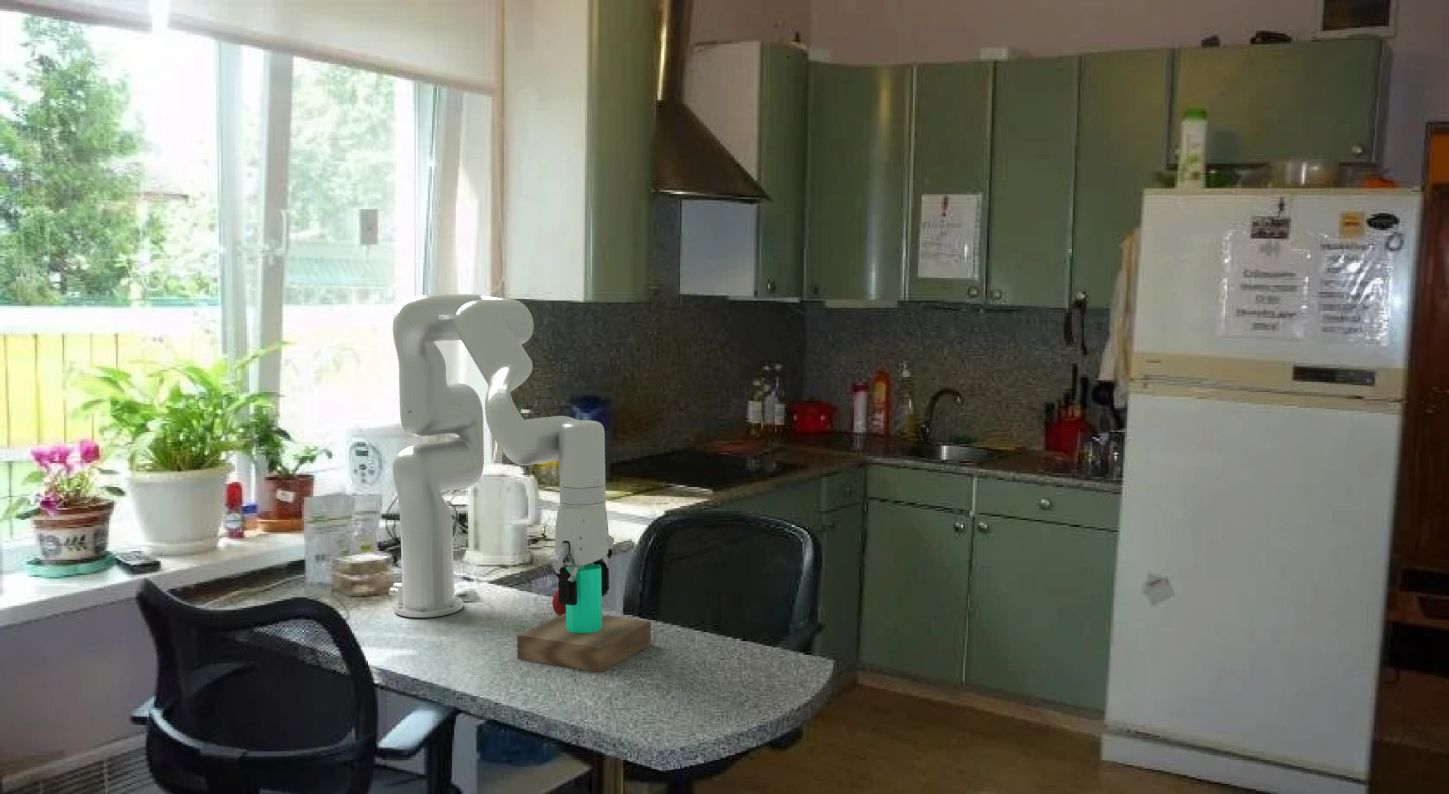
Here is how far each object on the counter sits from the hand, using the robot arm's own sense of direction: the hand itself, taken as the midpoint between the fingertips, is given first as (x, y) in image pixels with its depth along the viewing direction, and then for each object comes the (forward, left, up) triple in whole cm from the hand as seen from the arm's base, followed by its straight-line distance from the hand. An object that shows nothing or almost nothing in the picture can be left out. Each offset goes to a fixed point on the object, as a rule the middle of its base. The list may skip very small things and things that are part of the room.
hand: (584, 597), depth 193 cm
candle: (0, 0, -6) cm, 6 cm away
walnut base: (0, 0, -9) cm, 9 cm away
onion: (-12, +13, -10) cm, 20 cm away
